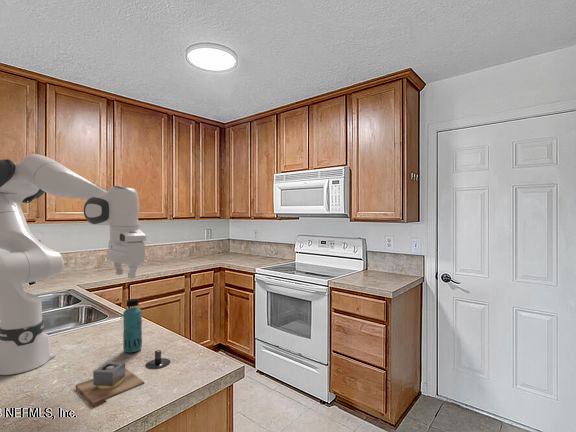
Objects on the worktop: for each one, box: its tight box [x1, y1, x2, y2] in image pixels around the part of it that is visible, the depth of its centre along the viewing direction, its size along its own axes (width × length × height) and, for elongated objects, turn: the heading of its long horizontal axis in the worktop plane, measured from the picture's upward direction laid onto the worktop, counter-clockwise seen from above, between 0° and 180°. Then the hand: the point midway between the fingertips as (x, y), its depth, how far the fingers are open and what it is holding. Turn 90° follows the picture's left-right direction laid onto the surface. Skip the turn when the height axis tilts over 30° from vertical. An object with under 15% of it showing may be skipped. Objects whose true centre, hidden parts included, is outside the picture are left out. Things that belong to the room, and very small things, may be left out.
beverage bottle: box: [122, 298, 143, 353], centre depth 121 cm, size 6×7×20 cm
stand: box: [144, 349, 171, 370], centre depth 110 cm, size 8×8×5 cm
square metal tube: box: [92, 361, 126, 386], centre depth 97 cm, size 6×6×4 cm
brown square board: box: [75, 366, 145, 408], centre depth 97 cm, size 14×14×6 cm
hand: (125, 276), depth 108 cm, fingers open, 8 cm apart
